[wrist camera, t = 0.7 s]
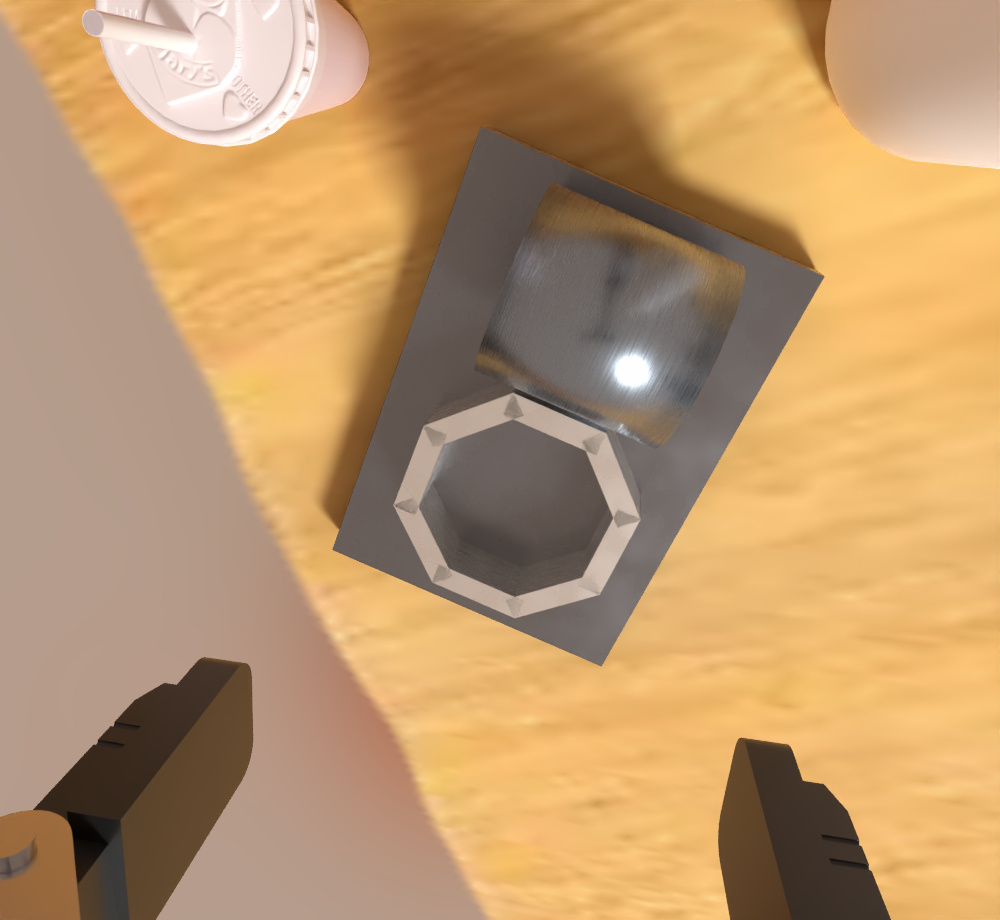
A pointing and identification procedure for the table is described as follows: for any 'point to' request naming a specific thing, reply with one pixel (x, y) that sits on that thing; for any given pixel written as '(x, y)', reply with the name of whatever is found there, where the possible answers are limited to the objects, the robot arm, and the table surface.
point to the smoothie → (230, 62)
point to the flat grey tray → (564, 395)
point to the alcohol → (919, 76)
